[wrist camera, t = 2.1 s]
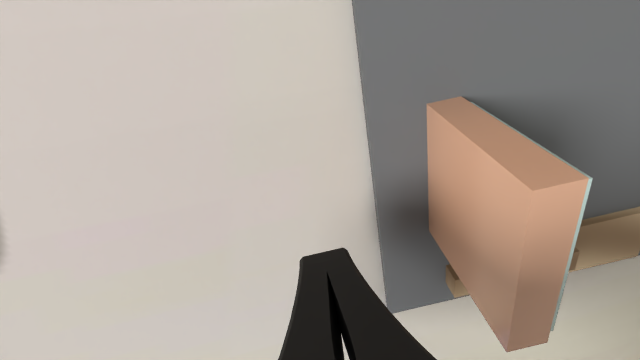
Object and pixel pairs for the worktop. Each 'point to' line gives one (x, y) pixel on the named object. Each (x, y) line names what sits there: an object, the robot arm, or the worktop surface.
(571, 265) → the tan stepped block
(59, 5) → the worktop surface
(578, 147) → the mat
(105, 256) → the worktop surface
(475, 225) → the tile
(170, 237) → the worktop surface
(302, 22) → the worktop surface
